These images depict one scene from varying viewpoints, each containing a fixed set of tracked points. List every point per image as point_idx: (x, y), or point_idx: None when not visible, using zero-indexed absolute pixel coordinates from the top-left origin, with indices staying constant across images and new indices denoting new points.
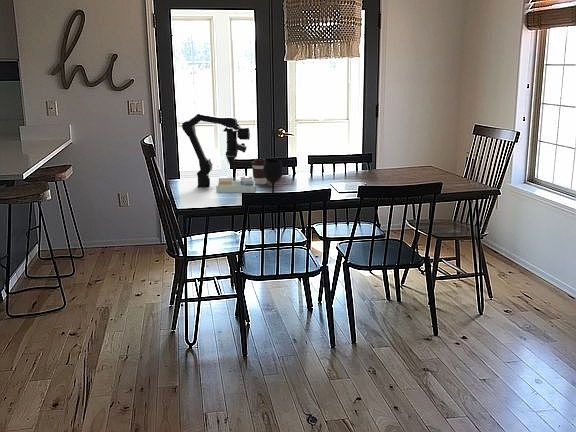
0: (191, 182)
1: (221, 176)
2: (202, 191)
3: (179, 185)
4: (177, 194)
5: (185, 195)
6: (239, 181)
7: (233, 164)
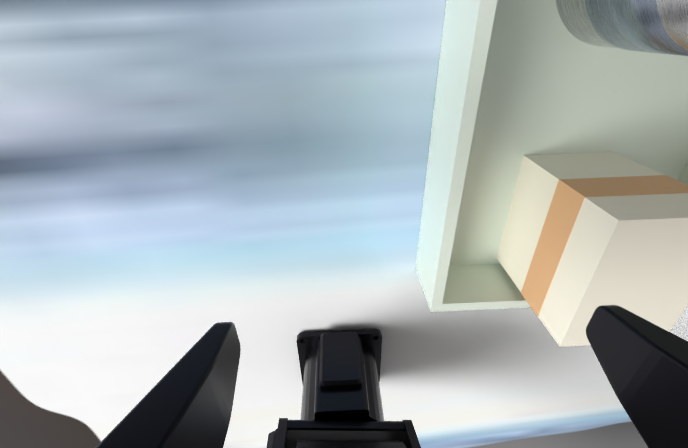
0: None
1: (568, 328)
2: (528, 340)
3: None
4: (573, 421)
5: None
6: (480, 84)
7: (227, 330)
